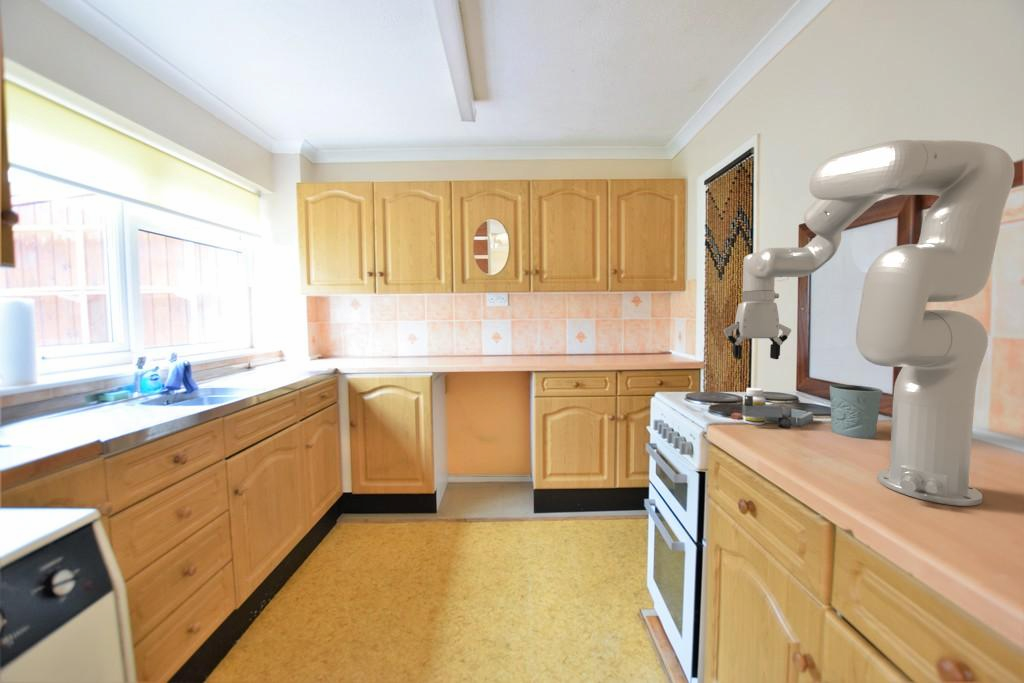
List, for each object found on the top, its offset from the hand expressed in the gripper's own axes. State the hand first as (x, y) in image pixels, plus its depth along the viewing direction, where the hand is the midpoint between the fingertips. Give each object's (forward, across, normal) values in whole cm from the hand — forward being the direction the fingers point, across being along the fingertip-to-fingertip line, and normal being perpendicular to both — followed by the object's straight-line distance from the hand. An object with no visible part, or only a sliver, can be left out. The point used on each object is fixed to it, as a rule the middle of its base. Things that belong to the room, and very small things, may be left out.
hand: (755, 358), depth 109 cm
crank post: (+18, -2, 0) cm, 19 cm away
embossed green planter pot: (+19, -20, +8) cm, 29 cm away
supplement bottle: (+19, 0, 0) cm, 19 cm away
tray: (+18, -10, -3) cm, 21 cm away
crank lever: (+15, -1, +4) cm, 16 cm away
